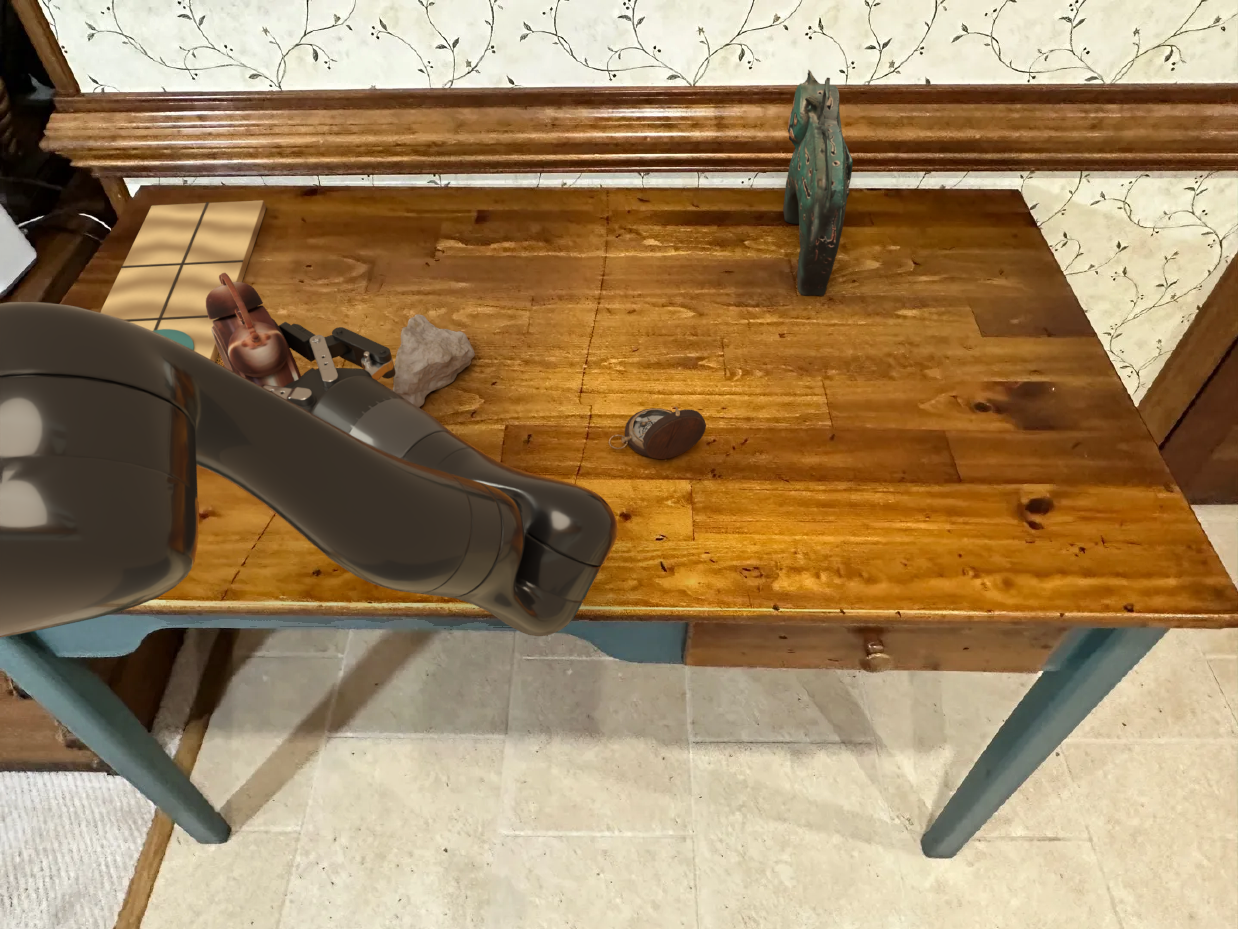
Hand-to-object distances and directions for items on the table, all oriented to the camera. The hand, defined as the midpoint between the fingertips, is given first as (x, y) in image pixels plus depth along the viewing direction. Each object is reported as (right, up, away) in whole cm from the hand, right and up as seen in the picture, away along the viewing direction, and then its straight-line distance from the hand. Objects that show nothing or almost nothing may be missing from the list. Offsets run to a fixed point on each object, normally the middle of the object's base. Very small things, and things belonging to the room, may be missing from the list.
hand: (250, 353), depth 73 cm
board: (-20, +10, +29) cm, 37 cm away
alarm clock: (0, -6, +7) cm, 9 cm away
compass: (+34, -7, +13) cm, 37 cm away
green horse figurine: (+53, +17, +34) cm, 66 cm away
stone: (+11, -1, +19) cm, 22 cm away
